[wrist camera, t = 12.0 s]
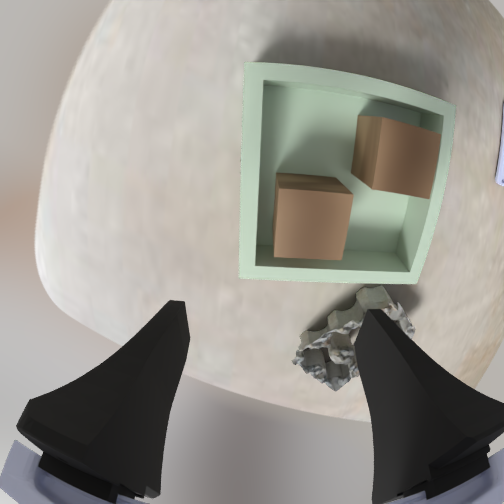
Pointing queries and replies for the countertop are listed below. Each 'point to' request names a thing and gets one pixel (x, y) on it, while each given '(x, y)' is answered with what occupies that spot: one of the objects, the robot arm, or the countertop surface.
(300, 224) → the block
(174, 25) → the countertop surface
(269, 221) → the dish
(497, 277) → the countertop surface
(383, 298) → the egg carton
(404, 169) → the block
